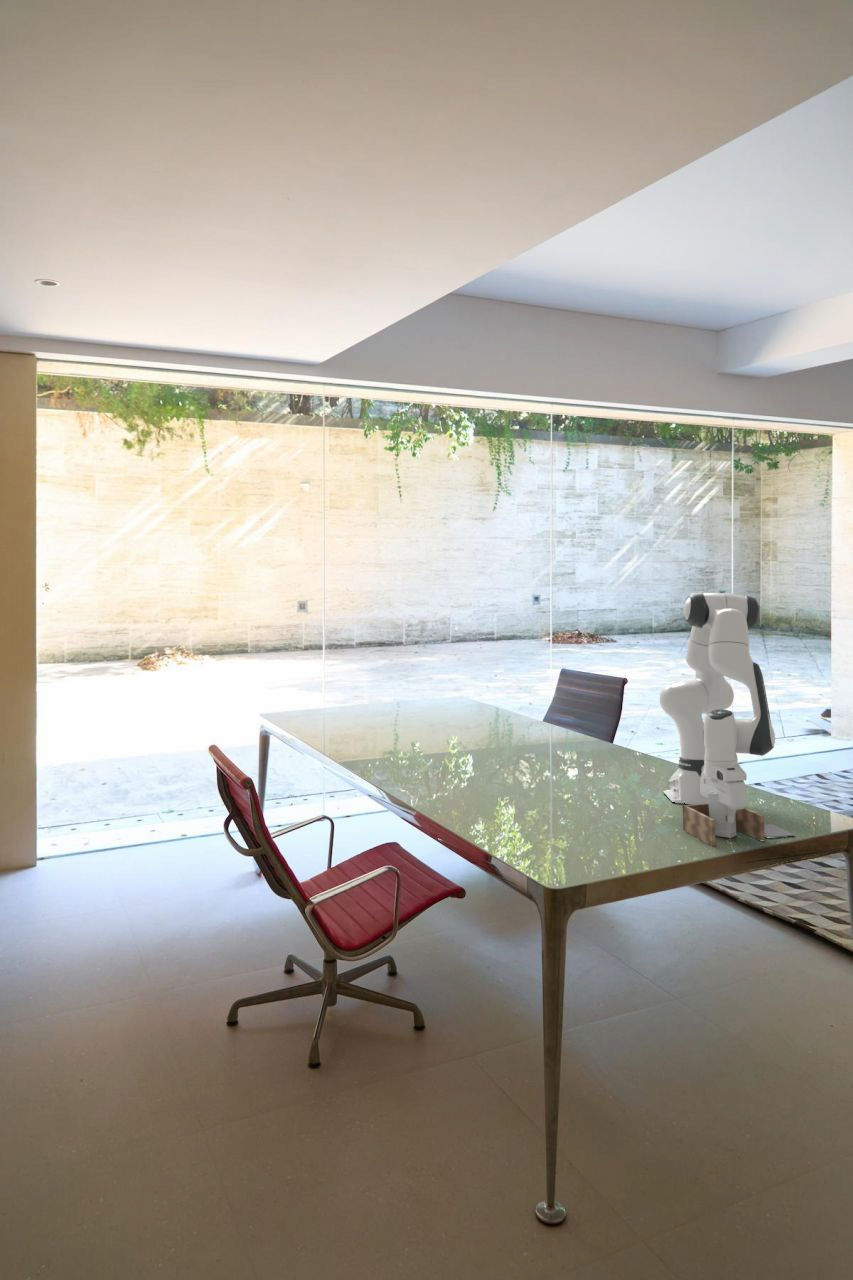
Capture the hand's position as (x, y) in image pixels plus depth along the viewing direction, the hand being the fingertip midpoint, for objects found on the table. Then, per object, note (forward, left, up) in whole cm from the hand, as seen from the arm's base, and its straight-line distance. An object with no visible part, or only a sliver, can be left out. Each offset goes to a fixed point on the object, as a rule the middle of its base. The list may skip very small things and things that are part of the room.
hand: (722, 818), depth 257 cm
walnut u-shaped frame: (0, 0, -5) cm, 5 cm away
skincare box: (0, 0, -5) cm, 5 cm away
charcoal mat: (+1, +13, -5) cm, 14 cm away
